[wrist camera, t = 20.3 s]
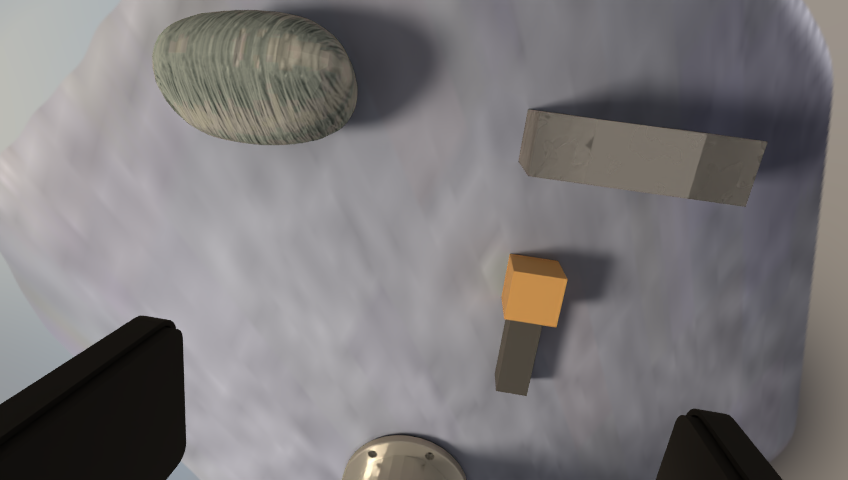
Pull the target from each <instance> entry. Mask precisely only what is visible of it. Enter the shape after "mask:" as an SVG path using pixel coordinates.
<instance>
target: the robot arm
mask: <svg viewBox="0 0 848 480" xmlns="http://www.w3.org/2000/svg"><path fill="white" fill-rule="evenodd" d="M185 448H186V425H185V393H184V361H183V336H182V333H181V331H180V330H178V329H176V326H175V324H174V322H172V321H171V320H166V319H160V318H154V317H148V316H138V317H136V318H134V319H132V320H131V321H129V322H128V323H126V324H125V325H123V326H122V327H120V328H118V329H117V330H115V331H114V332H112V333H111V334H109V335H108V336H106V337H104V338H103V339H101V340H100V341H98V342H97V343H95V344H94V345H92V346H90V347H89V348H87V349H86V350H84V351H83V352H81V353H80V354H78V355H76V356H75V357H73V358H72V359H70V360H69V361H67V362H66V363H64V364H62V365H61V366H59V367H58V368H56V369H55V370H53V371H52V372H50V373H48V374H47V375H45V376H44V377H42V378H41V379H39V380H38V381H36V382H34V383H33V384H31V385H30V386H28V387H27V388H25V389H24V390H22V391H21V392H19V393H17V394H16V395H14V396H13V397H11V398H9V399H8V400H6V401H5V402H3V403H2V404H0V480H166V479H167V478H168V477H169V475H170V474H171V473H172V472H173V470H174V469H175V468H176V467H177V465H178V464H179V463H180V461H181V459H182V457H183V455H184V452H185ZM342 480H466V477H465V474H464V472H463V470H462V468H461V467H460V465H459V464H458V462H457V461H456V460H455V459H454V458H453V457H452V456H451V455H450V454H449V453H448V452H446V451H445V450H444V449H443V448H441V447H439V446H437V445H436V444H434V443H432V442H430V441H427V440H424V439H421V438H417V437H412V436H404V435H393V436H386V437H381V438H378V439H375V440H372V441H370V442H368V443H367V444H365V445H363V446H362V447H361V448H359V449H358V450H357V451H356V452H355V453H354V454H353V456H352V457H351V458H350V459H349V461H348V464H347V466H346V468H345V471H344V474H343V478H342ZM656 480H782V479H781V477H780V476H779V475H778V474H777V472H776V471H775V470H774V469H773V468H772V466H771V465H770V464H769V462H768V461H767V460H766V459H765V457H764V456H763V455H762V454H761V453H760V451H759V450H758V449H757V448H756V446H755V445H754V444H753V443H752V441H751V440H750V439H749V438H748V436H747V435H746V434H745V433H744V431H743V430H742V429H741V428H740V426H739V425H738V424H737V423H736V422H735V420H734V419H733V418H732V417H731V416H730V415H727V414H723V413H717V412H711V411H705V410H699V409H691V410H690V411H689V412H688V413H687V415H686V416H685V415H681V416H679V417H678V418H677V420H676V422H675V425H674V428H673V431H672V434H671V437H670V440H669V443H668V445H667V448H666V451H665V454H664V457H663V460H662V463H661V466H660V469H659V472H658V475H657V478H656Z"/></svg>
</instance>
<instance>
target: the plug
mask: <svg viewBox="0 0 848 480" xmlns="http://www.w3.org/2000/svg"><path fill="white" fill-rule="evenodd" d="M567 280H568V279H567V277H566V275H565V273H564V272H563V270H562V268H561V266H560V264H559V262H558V261H555V260H549V259H542V258H535V257H529V256H522V255H516V254H510V255H509V261H508V266H507V271H506V276H505V282H504V287H503V292H502V305H503V312H504V319H506V320H505V325H504V330H503V335H502V340H501V345H500V350H499V355H498V360H497V365H496V371H495V383H496V391H500V392H506V393H512V394H518V395H524V396H527V392H528V387H529V383H530V378H531V374H532V369H533V365H534V360H535V356H536V352H537V347H538V343H539V338H540V334H541V329H542V325H545V326H551V327H557V322H558V318H559V314H560V310H561V305H562V301H563V297H564V292H565V288H566V284H567Z"/></svg>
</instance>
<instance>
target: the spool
mask: <svg viewBox="0 0 848 480" xmlns="http://www.w3.org/2000/svg"><path fill="white" fill-rule="evenodd" d="M152 58H153V70H154V74H155V79H156V83H157V85H158V87H159V89H160V90H161V92H162V94H163V96H164V97H165V99H166V101H167V102H168V103H169V105H170V106H171V107H172V108H173V110H174V111H175V112H176V113H177V114H178V115H180V116H181V117H182V118H183V119H184V120H185V121H186V122H187V123H188V124H190V125H192V126H193V127H195V128H197V129H198V130H200V131H202V132H204V133H206V134H208V135H211V136H214V137H217V138H221V139H225V140H230V141H236V142H242V143H249V144H258V145H288V144H297V143H304V142H309V141H314V140H318V139H321V138H324V137H326V136H328V135H330V134H332V133H334V132H336V131H338V130H340V129H341V128H342V127H343V126H344V125H345V124H346V123H347V122H348V120H349V119H350V117H351V115H352V113H353V112H354V109H355V106H356V102H357V82H356V79H355V73H354V70H353V67H352V64H351V62H350V60H349V57H348V56H347V54H346V52H345V50H344V48H343V46H342V45H341V44H340V42H339V41H338V40H337V39H336V38H335V37H334V36H333V35H332V34H331V33H330V32H329V31H328V30H326V29H325V28H323V27H321V26H320V25H318V24H317V23H315V22H313V21H311V20H309V19H306V18H303V17H300V16H296V15H292V14H286V13H281V12H271V11H259V10H233V11H220V12H211V13H201V14H197V15H194V16H191V17H188V18H185V19H182V20H179V21H177V22H175V23H173V24H171V25H170V26H168V27H167V28H166V29H165V30H164V31H163V32H162V33H161V34H160V35H159V36H158V39H157V41H156V43H155V46H154V50H153V56H152Z"/></svg>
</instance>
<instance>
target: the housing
mask: <svg viewBox="0 0 848 480" xmlns="http://www.w3.org/2000/svg"><path fill="white" fill-rule="evenodd" d="M766 145H767V142H766V141H759V140H752V139H745V138H738V137H731V136H724V135H717V134H711V133H703V132H696V131H688V130H680V129H673V128H665V127H662V128H661V127H654V126H646V125H639V124H631V123H624V122H616V121H609V120H601V119H593V118H587V117H581V116H575V115H567V114H560V113H552V112H545V111H537V110H529V109H528V112H527V117H526V123H525V128H524V134H523V139H522V144H521V150H520V155H519V161H518V162H519V163H520V165H521V166H522V168H523V169H524V171H525V172H526V174H527V175H528V176H532V177H539V178H546V179H553V180H560V181H567V182H574V183H581V184H588V185H595V186H603V187H610V188H617V189H624V190H631V191H638V192H645V193H652V194H659V195H666V196H673V197H680V198H687V199H695V200H702V201H709V202H716V203H723V204H730V205H737V206H744V207H746V204H747V201H748V198H749V195H750V192H751V189H752V186H753V183H754V180H755V177H756V174H757V171H758V168H759V165H760V162H761V159H762V156H763V154H764V151H765V148H766Z"/></svg>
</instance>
